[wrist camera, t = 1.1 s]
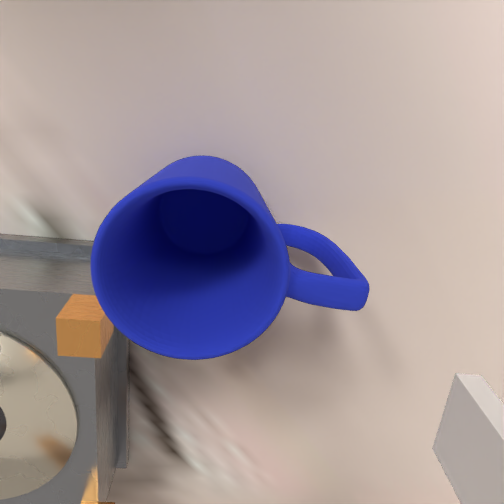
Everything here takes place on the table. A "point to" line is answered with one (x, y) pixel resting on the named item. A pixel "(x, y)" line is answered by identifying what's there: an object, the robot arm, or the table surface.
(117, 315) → the mug
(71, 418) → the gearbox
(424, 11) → the table surface
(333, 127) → the table surface
